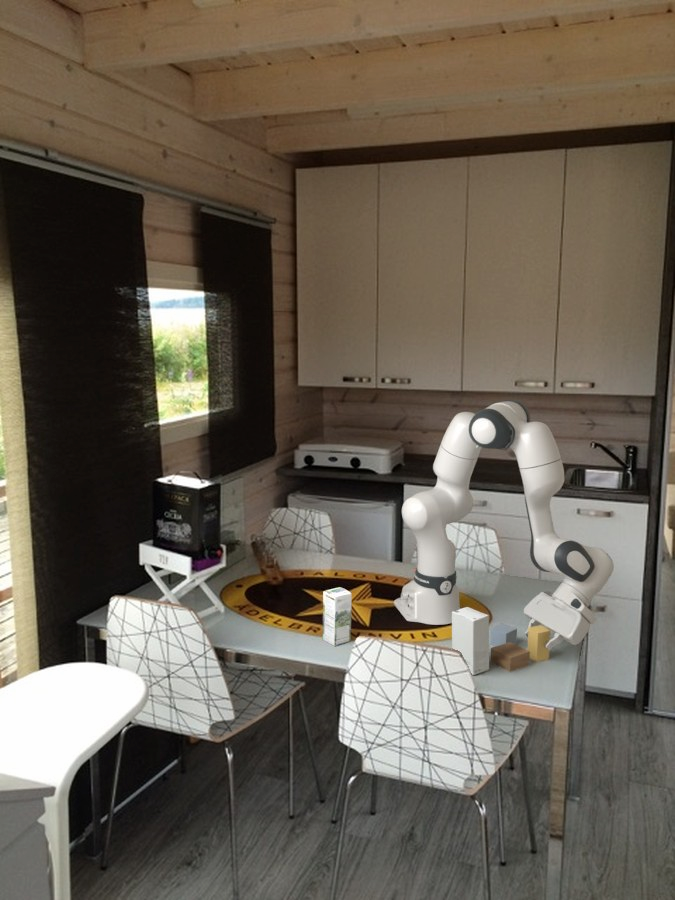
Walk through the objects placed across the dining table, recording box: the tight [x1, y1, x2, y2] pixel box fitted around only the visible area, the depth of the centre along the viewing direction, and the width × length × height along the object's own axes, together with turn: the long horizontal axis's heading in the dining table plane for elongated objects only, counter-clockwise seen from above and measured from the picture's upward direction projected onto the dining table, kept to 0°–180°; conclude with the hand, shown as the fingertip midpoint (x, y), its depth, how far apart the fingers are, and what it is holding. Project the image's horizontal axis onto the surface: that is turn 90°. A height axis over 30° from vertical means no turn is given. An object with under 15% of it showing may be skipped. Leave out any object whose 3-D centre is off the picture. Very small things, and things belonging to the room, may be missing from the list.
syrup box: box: [321, 586, 353, 647], centre depth 221 cm, size 6×6×14 cm
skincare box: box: [451, 606, 490, 676], centre depth 206 cm, size 8×6×15 cm
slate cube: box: [489, 623, 518, 647], centre depth 220 cm, size 5×5×5 cm
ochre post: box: [526, 625, 551, 663], centre depth 212 cm, size 4×4×8 cm
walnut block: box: [489, 642, 530, 673], centre depth 209 cm, size 7×7×4 cm
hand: (536, 642), depth 212 cm, fingers open, 6 cm apart
